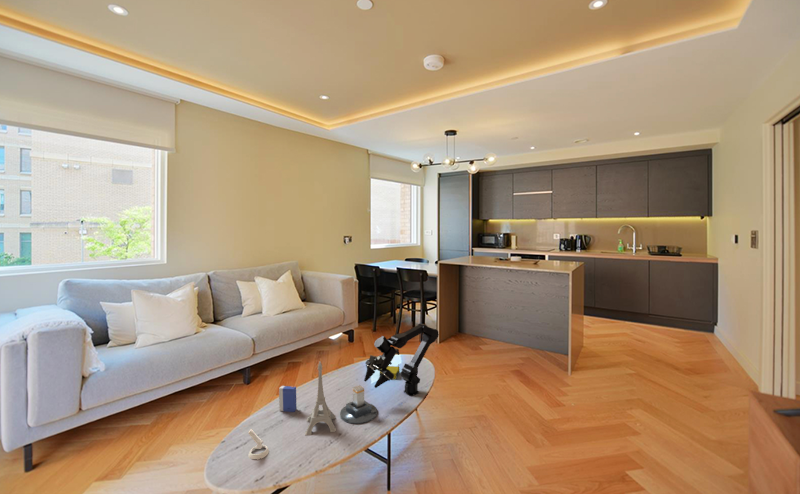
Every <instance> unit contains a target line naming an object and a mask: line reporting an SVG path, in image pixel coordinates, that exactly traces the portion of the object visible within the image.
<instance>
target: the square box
mask: <svg viewBox="0 0 800 494" xmlns="http://www.w3.org/2000/svg"><path fill="white" fill-rule="evenodd" d="M364 400H365V387H364V386H362V385H360V384H359V385H356V386H353V387H352V402H353V407H355V408H356V409H358V408H361V407H363V406H364Z"/></svg>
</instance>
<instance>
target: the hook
mask: <svg viewBox="0 0 800 494" xmlns="http://www.w3.org/2000/svg"><path fill="white" fill-rule="evenodd" d="M248 435H249V436H250V437H251V439H252V440H253V441H254V443H256V446H253V447H252V448H251V449H250V450H249V452H248V455H247V456H248V458H249V459H250V458H251V459H250V460H252V459H257V460H261V459H263V458H265V457H266V456H268V454H269V452H270V450H269V448H268V446H267V445H266V444H264V440H263V439H261V438H260V437H259V436H258V435H257V434H256V432H255V431H254V430H253V429H252V428H250V430H249V431H248ZM261 449H265V450H264V451H263V452H261V453H256V454H255V453H252V452H253V451H255V450H261ZM260 458H261V459H260Z"/></svg>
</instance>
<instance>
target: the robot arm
mask: <svg viewBox="0 0 800 494" xmlns="http://www.w3.org/2000/svg"><path fill="white" fill-rule="evenodd" d="M420 334H421V335H422V340H421V342H420V344H419V346H418V347H417V350H416V351H415V352H414V355H413V357H412V358H411V361H410V362H409V363H404V365H403V367H402V368H401V372H400V374H401V375H400V376H401V378H402V380H403V381H404V390H403V392H404V393H405V394H407V396H410V397H411V396H412V397H413V396H414V395H417V394H419V393H420V391H419V389H418V388H419V387H418V385H419V384H420V382H421V378H420V377H419V376H418V373H419V366H420V364H421V363H422V361H423V358H424V357H425V355H426V353H427V351H428V349H429V347H430V345H432V344H433V343H435V342H436V341H437V339H438V337H439V335H440V333H439V331H438V329H437V328H436V329H435V328H434V327H430V326H427V325H426V324H424V323H418V324H417V325H415V326H414V327H411V328H410V329H408V330H406V331H404V332H403V333H396V334H393V335H392V336H390V337H389V338H387V337H386V336H384V335H381V336H380V337H378V338H377V339H376V340H375V341H374V347H375V348H376V349H377V350H378V351H379V352H380V353H382V354H379V355H378V356H377V355H376V356H375V355H371V354H370V355H369V359H367V360H366V361H365V368H366V373H365V376H364V380H363V381H364V382H367V381H368V380H369V379H370V378H371V377H372V376H373V375H374V374H375V373H376V371H378V372H379V377H378V378H377V381H376V382H375V385H374V386H373V388H375V389H377V388H378V387H380V386H382V385H383V384H384V383H386V382H388V381H389V382H390V381H393V380H394V379H393V378H394V374H393V373H392V372H391V371H390V370H388V369H387V367H388V366H390V365H391V366H392V363H393V362H392V361H393V359H394V358H395V356H396V355H398V356H400V349H402V348H404V347H405V346H406V345H407V343H408V342H409V341H410V340H412V339H415V338H416V337H418V336H419V335H420ZM381 369H382V370H381ZM380 372H382V373H383V374H382V373H380Z"/></svg>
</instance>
